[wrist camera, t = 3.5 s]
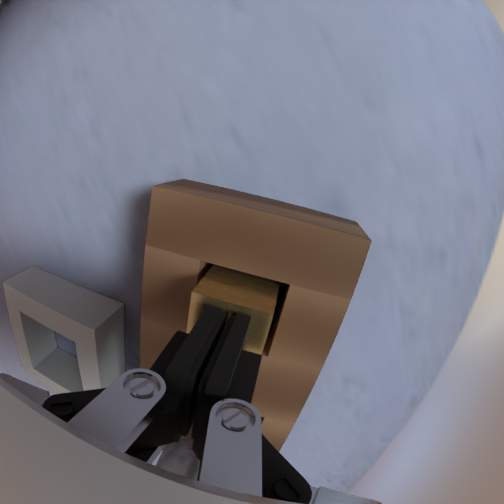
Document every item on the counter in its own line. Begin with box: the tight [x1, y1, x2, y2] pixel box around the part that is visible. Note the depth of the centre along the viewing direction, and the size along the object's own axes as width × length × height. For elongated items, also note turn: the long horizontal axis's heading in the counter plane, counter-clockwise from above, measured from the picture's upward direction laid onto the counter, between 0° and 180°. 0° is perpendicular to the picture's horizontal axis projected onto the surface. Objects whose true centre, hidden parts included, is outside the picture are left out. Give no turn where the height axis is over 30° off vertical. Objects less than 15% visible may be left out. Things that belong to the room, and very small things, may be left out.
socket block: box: [140, 179, 371, 452], centre depth 16 cm, size 18×9×4 cm, turn 167°
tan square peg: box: [186, 264, 280, 355], centre depth 13 cm, size 3×3×5 cm
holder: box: [3, 266, 126, 394], centre depth 18 cm, size 9×9×4 cm
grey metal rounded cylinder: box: [156, 424, 200, 481], centre depth 14 cm, size 4×4×12 cm
